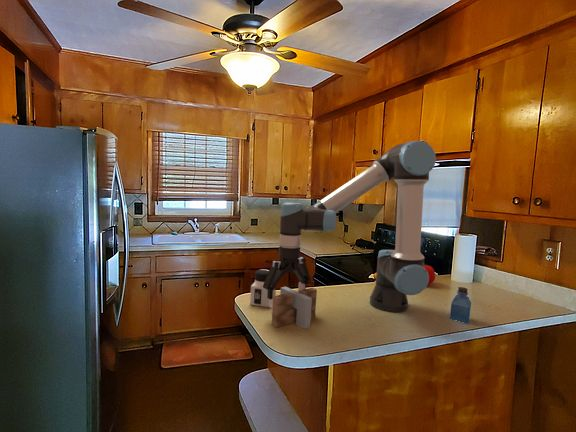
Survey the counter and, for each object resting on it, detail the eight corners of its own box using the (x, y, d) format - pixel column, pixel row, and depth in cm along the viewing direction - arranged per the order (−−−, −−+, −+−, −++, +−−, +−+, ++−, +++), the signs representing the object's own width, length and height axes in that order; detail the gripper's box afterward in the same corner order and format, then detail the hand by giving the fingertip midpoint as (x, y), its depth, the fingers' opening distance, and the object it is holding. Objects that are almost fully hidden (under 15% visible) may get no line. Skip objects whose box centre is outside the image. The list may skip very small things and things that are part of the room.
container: (269, 307, 129) (270, 274, 127) (249, 304, 130) (251, 272, 129) (273, 300, 136) (275, 269, 135) (255, 298, 138) (257, 267, 136)
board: (310, 313, 125) (312, 287, 124) (315, 316, 123) (316, 289, 122) (271, 325, 113) (273, 296, 112) (275, 327, 112) (277, 298, 110)
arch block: (279, 314, 123) (280, 287, 122) (284, 312, 124) (285, 286, 123) (304, 328, 112) (306, 299, 111) (310, 326, 114) (311, 298, 113)
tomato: (432, 289, 163) (434, 268, 162) (406, 284, 169) (408, 263, 168) (436, 284, 172) (438, 264, 171) (411, 279, 179) (413, 260, 178)
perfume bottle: (468, 323, 124) (471, 292, 122) (449, 319, 127) (453, 288, 126) (469, 318, 129) (472, 288, 128) (451, 314, 132) (454, 284, 131)
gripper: (308, 241, 130) (305, 294, 132) (254, 247, 114) (252, 307, 116) (322, 245, 124) (318, 300, 126) (267, 251, 108) (264, 314, 111)
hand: (286, 303), depth 121 cm, fingers open, 13 cm apart
